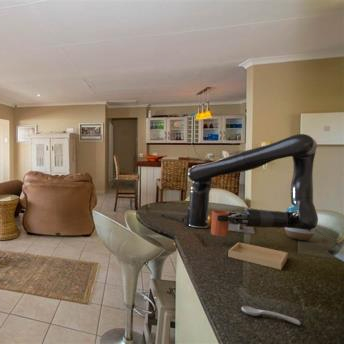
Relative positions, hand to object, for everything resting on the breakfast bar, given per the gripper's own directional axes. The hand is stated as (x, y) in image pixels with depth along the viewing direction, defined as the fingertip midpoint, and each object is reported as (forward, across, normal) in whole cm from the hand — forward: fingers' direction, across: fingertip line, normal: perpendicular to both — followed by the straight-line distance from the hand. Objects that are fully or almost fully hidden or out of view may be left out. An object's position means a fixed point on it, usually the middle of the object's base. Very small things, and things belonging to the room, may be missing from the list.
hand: (214, 216), depth 127 cm
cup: (-2, 0, +8) cm, 8 cm away
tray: (-11, +14, +12) cm, 22 cm away
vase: (-42, -16, +13) cm, 47 cm away
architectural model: (-24, -30, +13) cm, 41 cm away
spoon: (+6, +58, +12) cm, 59 cm away
